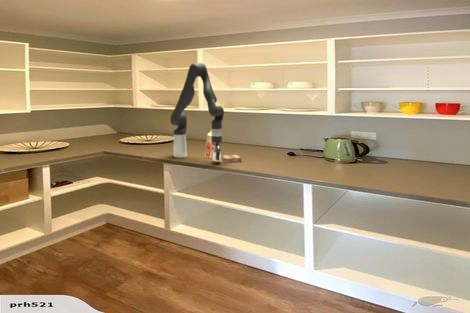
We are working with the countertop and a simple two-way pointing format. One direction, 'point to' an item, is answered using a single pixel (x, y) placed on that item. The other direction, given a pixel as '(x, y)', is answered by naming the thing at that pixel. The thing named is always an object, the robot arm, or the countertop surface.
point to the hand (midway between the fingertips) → (216, 159)
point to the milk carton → (209, 146)
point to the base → (230, 158)
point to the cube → (215, 156)
